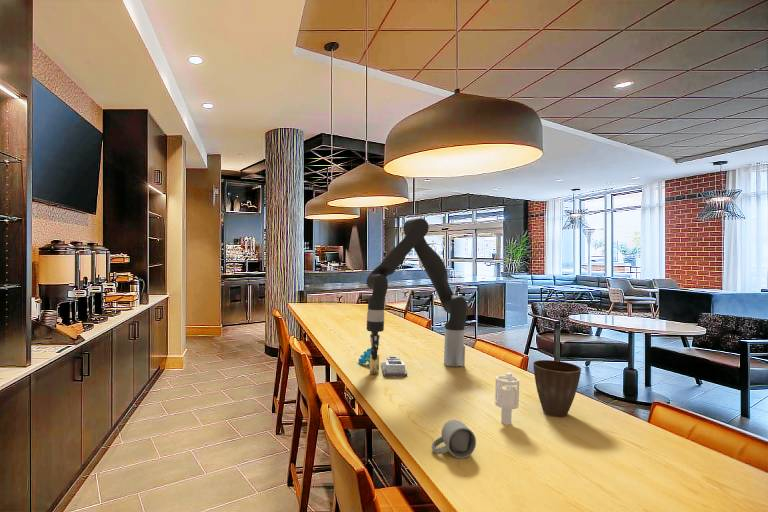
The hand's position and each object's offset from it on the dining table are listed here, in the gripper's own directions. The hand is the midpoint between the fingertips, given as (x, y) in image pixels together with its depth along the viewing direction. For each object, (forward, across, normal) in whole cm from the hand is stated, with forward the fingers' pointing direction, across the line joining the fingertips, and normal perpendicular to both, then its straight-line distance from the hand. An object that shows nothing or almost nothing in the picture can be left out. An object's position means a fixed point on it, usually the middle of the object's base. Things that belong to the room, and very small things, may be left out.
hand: (374, 357), depth 180 cm
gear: (+8, +16, +2) cm, 18 cm away
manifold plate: (+7, +5, -9) cm, 13 cm away
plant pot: (+7, -45, -59) cm, 75 cm away
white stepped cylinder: (+7, -53, -39) cm, 66 cm away
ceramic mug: (+8, -72, -18) cm, 74 cm away
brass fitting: (+7, 0, 0) cm, 7 cm away
